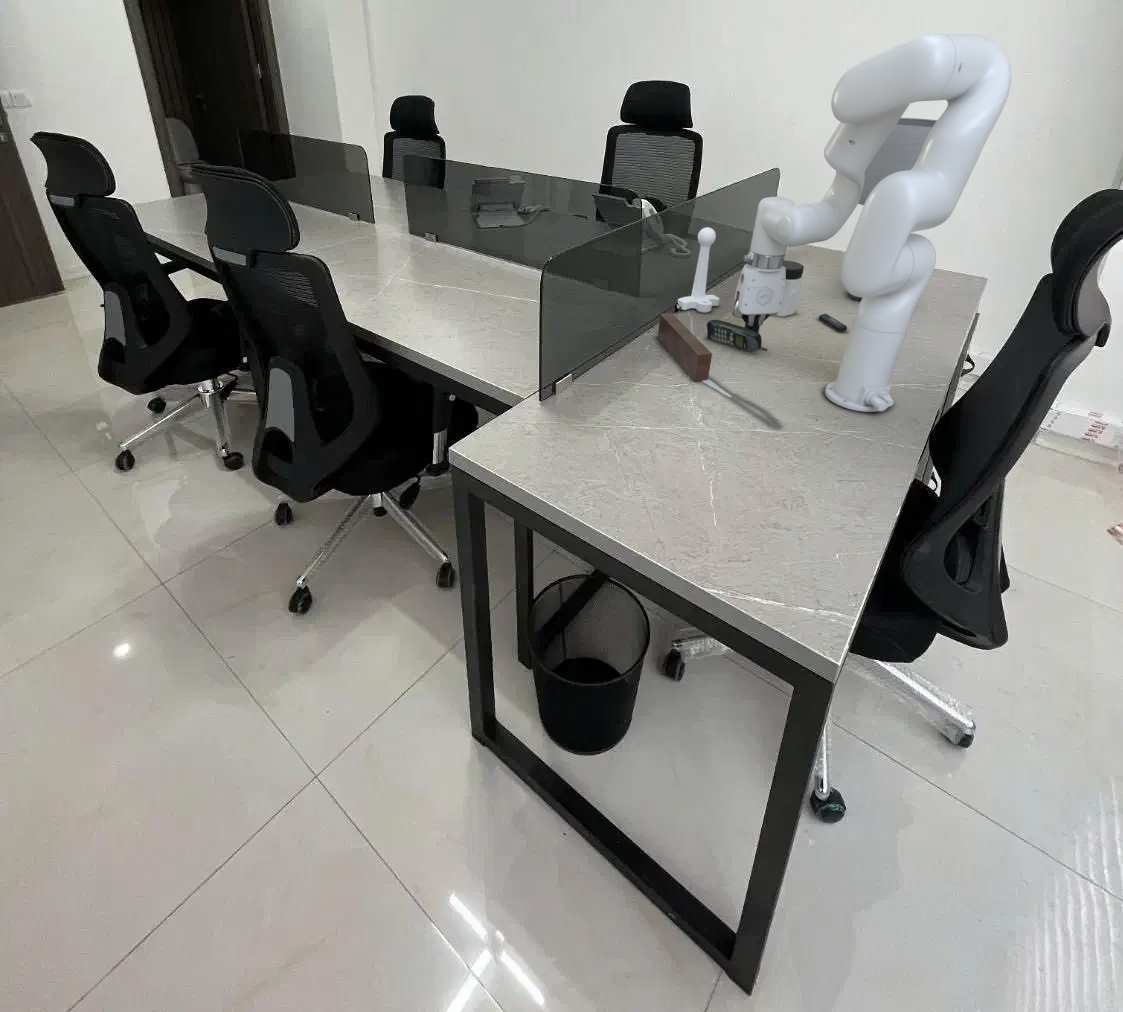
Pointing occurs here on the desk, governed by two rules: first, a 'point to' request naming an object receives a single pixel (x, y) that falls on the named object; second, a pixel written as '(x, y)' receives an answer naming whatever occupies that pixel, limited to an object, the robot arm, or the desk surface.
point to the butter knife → (716, 387)
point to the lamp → (896, 154)
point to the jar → (791, 287)
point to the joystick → (701, 277)
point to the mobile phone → (734, 335)
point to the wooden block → (684, 347)
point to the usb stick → (833, 322)
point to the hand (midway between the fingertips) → (749, 340)
